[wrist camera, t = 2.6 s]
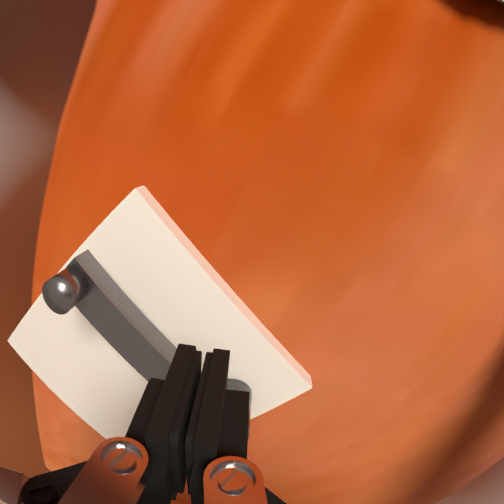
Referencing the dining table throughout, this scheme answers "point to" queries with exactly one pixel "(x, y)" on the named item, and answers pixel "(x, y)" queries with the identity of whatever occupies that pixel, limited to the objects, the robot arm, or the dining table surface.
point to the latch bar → (115, 318)
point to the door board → (160, 314)
